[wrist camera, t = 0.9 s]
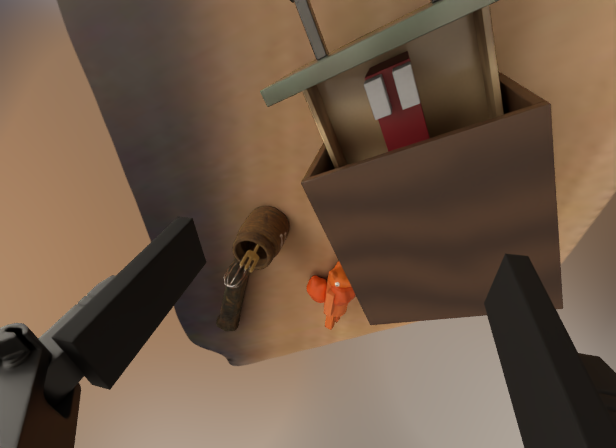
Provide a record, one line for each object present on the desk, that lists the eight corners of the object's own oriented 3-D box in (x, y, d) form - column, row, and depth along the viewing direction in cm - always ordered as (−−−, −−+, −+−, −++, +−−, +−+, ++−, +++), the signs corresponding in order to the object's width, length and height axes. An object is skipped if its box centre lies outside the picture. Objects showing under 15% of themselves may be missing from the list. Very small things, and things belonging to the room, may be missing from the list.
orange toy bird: (339, 343, 45) (351, 287, 38) (297, 318, 48) (301, 262, 41) (354, 319, 48) (367, 264, 41) (314, 298, 51) (320, 243, 44)
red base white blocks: (369, 67, 27) (362, 81, 22) (407, 50, 26) (410, 60, 21) (391, 139, 30) (390, 166, 25) (427, 127, 29) (433, 153, 24)
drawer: (268, 3, 28) (216, 1, 20) (476, -128, 20) (525, -214, 13) (358, 217, 38) (347, 272, 30) (515, 179, 31) (555, 238, 23)
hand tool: (242, 318, 57) (231, 339, 54) (222, 309, 57) (210, 330, 54) (266, 250, 46) (254, 271, 42) (241, 239, 46) (228, 259, 42)
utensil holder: (243, 223, 44) (200, 283, 34) (263, 194, 40) (221, 252, 31) (277, 246, 45) (244, 310, 35) (299, 220, 41) (269, 283, 32)
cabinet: (325, 138, 34) (300, 183, 25) (501, 72, 27) (550, 103, 18) (376, 259, 42) (370, 325, 33) (521, 233, 35) (563, 309, 26)
